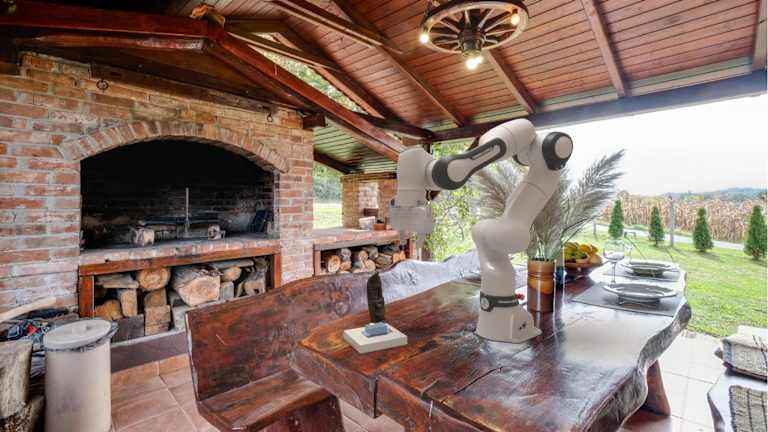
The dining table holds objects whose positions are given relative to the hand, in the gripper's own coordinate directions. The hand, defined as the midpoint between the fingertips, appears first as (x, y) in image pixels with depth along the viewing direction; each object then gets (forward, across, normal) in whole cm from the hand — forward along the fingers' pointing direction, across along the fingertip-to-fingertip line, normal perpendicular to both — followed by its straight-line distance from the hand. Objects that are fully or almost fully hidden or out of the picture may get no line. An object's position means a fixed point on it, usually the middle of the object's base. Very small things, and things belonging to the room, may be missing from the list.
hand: (410, 246), depth 109 cm
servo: (+31, +9, +7) cm, 33 cm away
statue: (+31, +23, 0) cm, 39 cm away
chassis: (+31, +9, +8) cm, 33 cm away
